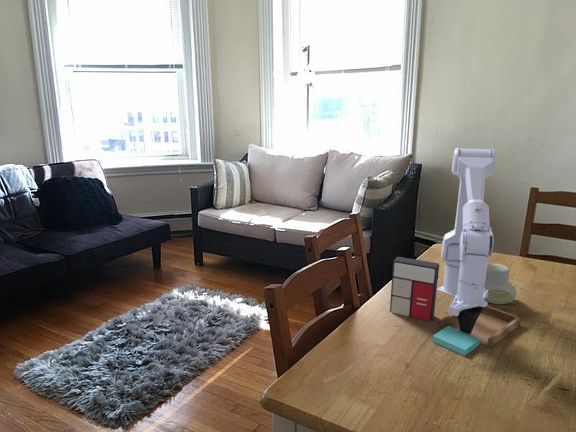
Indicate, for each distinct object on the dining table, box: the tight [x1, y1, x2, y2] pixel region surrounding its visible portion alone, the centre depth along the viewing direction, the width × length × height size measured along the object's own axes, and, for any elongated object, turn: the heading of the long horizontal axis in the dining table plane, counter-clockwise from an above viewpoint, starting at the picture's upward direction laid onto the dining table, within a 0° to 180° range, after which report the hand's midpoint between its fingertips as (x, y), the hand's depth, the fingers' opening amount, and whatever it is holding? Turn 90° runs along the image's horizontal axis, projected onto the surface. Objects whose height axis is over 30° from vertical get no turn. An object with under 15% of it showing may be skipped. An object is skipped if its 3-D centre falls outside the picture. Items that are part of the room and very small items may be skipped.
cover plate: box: [431, 326, 481, 357], centre depth 104 cm, size 7×8×2 cm
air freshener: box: [484, 263, 518, 305], centre depth 125 cm, size 11×8×10 cm
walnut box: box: [440, 305, 522, 348], centre depth 111 cm, size 16×13×2 cm
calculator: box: [389, 256, 440, 322], centre depth 116 cm, size 11×4×15 cm, turn 62°
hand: (465, 332), depth 106 cm, fingers closed
